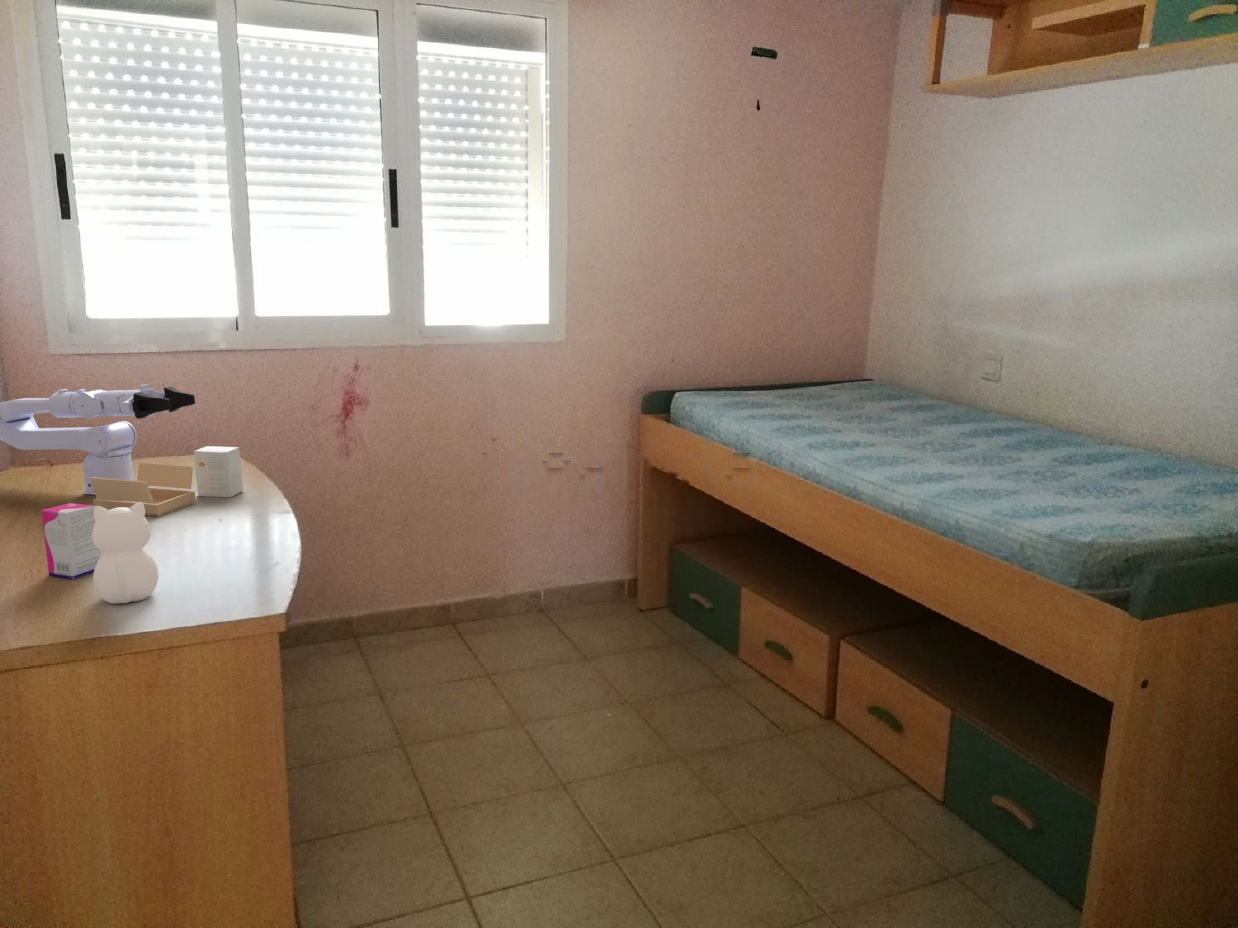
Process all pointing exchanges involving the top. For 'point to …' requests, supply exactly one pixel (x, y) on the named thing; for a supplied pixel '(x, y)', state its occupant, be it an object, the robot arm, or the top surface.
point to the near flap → (121, 489)
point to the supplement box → (70, 540)
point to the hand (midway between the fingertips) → (182, 401)
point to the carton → (155, 501)
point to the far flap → (165, 475)
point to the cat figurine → (123, 554)
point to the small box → (218, 471)
